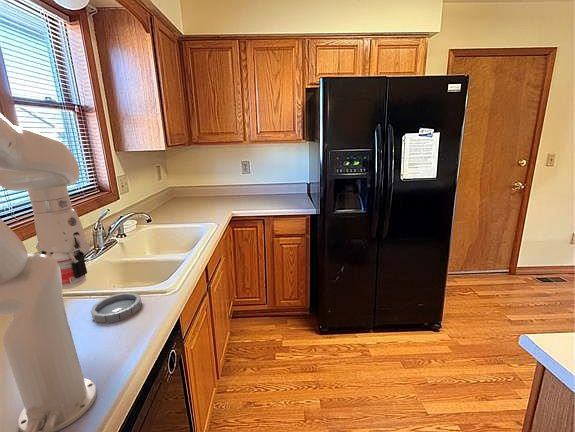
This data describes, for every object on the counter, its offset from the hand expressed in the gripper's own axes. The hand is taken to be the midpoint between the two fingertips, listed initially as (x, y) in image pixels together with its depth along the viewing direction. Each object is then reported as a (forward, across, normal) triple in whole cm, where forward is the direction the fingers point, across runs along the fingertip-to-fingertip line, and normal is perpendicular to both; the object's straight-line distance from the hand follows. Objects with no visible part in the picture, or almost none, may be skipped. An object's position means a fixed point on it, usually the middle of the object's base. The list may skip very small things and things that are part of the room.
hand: (70, 274), depth 81 cm
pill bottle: (+3, 0, 0) cm, 3 cm away
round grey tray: (+17, 0, -12) cm, 21 cm away
